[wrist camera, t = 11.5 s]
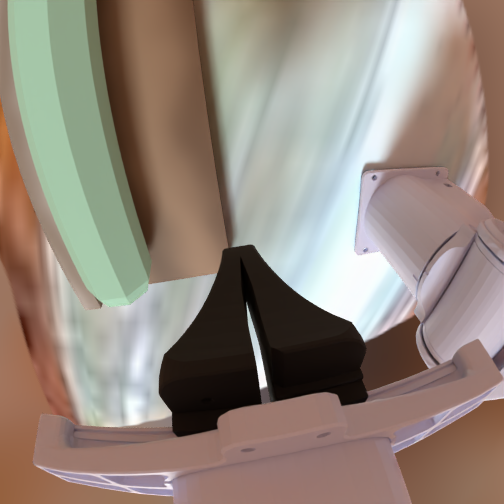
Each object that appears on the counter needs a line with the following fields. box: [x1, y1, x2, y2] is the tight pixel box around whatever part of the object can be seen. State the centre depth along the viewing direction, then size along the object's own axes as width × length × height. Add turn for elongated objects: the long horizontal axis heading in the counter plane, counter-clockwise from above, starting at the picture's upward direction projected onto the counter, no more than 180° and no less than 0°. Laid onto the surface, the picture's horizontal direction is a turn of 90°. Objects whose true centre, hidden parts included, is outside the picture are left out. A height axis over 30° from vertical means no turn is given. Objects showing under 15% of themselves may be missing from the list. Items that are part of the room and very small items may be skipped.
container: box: [8, 0, 152, 307], centre depth 12 cm, size 6×6×25 cm
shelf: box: [0, 0, 229, 310], centre depth 14 cm, size 12×28×4 cm, turn 5°
